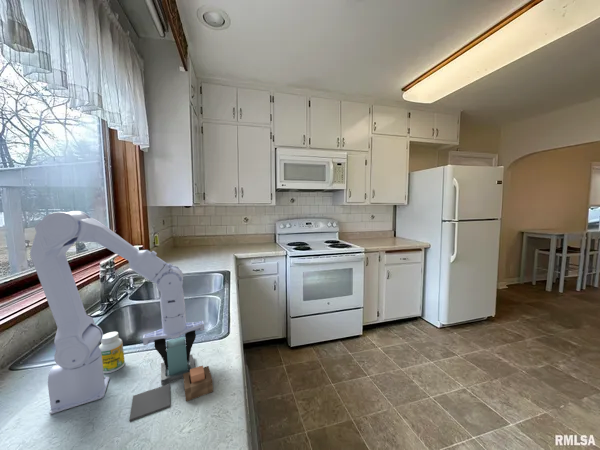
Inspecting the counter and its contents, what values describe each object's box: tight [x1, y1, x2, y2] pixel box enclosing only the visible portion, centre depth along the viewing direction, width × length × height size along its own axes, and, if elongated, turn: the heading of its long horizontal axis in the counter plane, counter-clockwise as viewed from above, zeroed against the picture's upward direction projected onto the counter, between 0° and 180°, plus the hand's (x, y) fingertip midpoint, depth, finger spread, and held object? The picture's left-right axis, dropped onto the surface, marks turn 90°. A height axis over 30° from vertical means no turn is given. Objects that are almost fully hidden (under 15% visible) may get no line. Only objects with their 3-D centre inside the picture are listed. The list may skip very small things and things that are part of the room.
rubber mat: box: [128, 383, 171, 422], centre depth 58 cm, size 8×8×1 cm
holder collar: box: [160, 353, 196, 386], centre depth 69 cm, size 8×8×1 cm
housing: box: [182, 365, 214, 402], centre depth 62 cm, size 6×6×3 cm
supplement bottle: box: [99, 331, 126, 374], centre depth 71 cm, size 5×5×10 cm
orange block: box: [190, 365, 205, 384], centre depth 62 cm, size 3×3×4 cm
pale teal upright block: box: [166, 335, 189, 376], centre depth 69 cm, size 4×4×8 cm
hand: (177, 361), depth 69 cm, fingers closed on pale teal upright block, 4 cm apart
